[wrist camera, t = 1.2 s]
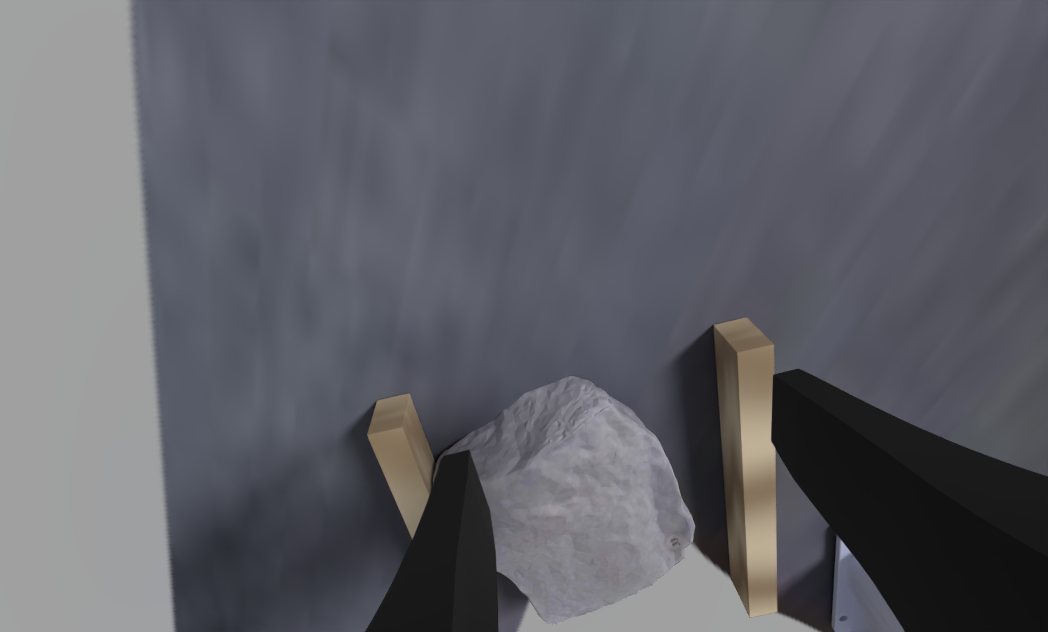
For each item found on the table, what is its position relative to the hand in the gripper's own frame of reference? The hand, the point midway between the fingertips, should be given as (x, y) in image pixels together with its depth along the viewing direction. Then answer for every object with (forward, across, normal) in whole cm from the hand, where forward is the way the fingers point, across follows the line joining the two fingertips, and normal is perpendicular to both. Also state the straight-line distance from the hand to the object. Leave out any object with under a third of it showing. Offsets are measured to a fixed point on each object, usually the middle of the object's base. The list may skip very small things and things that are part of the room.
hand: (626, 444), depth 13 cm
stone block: (+11, +1, +12) cm, 16 cm away
